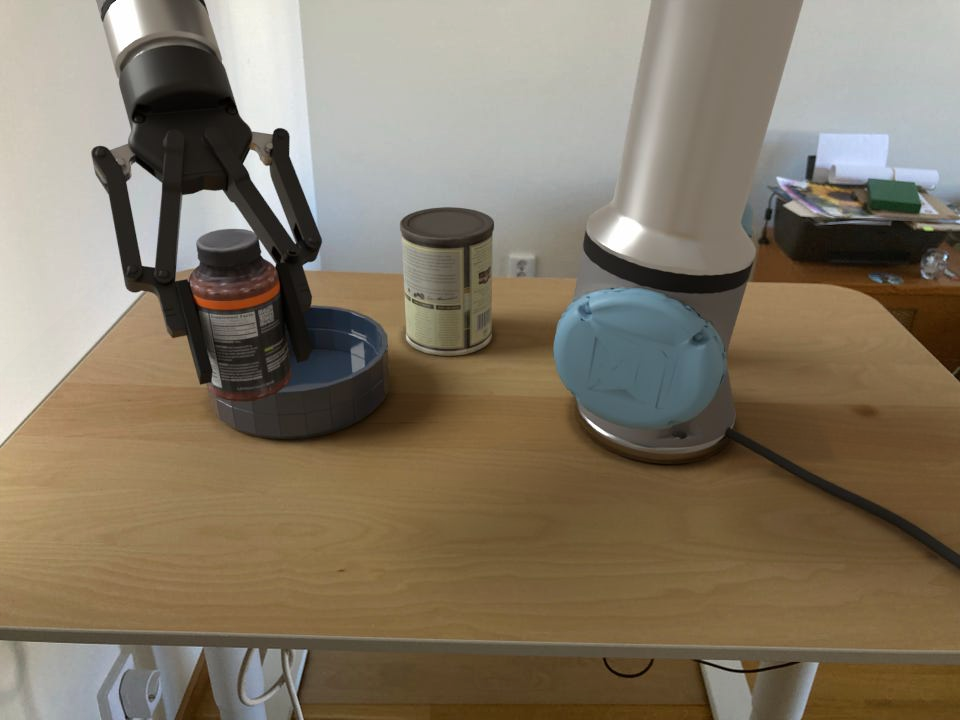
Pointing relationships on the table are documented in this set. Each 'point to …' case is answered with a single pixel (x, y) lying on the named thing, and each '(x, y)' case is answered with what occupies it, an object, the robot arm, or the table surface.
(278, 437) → the bowl
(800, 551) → the table surface
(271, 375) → the supplement bottle
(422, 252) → the coffee can
